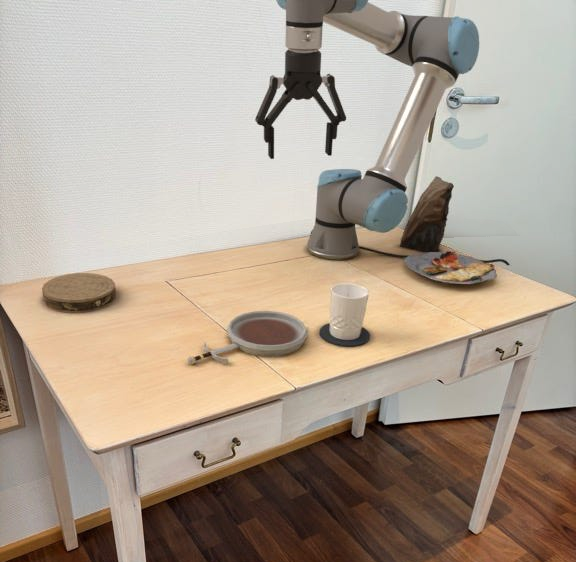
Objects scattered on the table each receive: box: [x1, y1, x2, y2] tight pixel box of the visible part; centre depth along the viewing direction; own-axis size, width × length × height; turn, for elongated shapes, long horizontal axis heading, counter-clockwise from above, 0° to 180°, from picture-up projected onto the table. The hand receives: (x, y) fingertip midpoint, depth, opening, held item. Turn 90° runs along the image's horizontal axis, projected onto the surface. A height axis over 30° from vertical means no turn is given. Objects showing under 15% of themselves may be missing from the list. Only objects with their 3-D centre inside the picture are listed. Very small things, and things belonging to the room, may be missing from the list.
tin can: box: [41, 272, 117, 314], centre depth 134 cm, size 16×16×3 cm
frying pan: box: [187, 310, 308, 365], centre depth 119 cm, size 17×3×28 cm
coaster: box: [319, 322, 371, 348], centre depth 126 cm, size 11×11×1 cm
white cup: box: [329, 282, 370, 340], centre depth 123 cm, size 8×8×10 cm
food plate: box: [403, 250, 498, 285], centre depth 160 cm, size 25×23×4 cm
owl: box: [399, 176, 455, 253], centre depth 174 cm, size 13×13×20 cm
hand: (299, 155), depth 133 cm, fingers open, 13 cm apart
